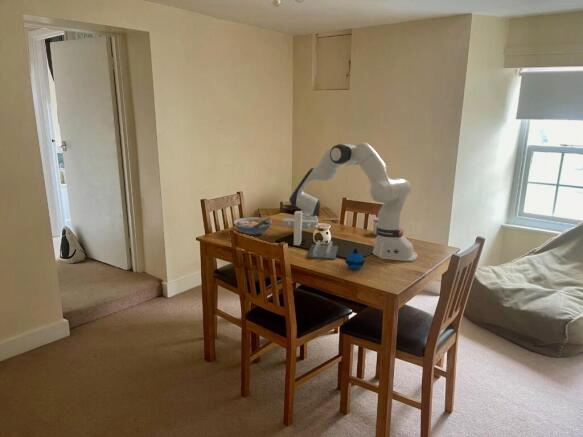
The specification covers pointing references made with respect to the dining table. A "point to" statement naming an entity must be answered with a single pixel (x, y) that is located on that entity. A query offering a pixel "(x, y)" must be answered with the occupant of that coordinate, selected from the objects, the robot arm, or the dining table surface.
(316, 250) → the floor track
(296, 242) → the white rectangular block
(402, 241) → the robot arm
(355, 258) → the ornament
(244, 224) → the ramen bowl
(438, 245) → the dining table surface
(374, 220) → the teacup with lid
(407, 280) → the dining table surface
